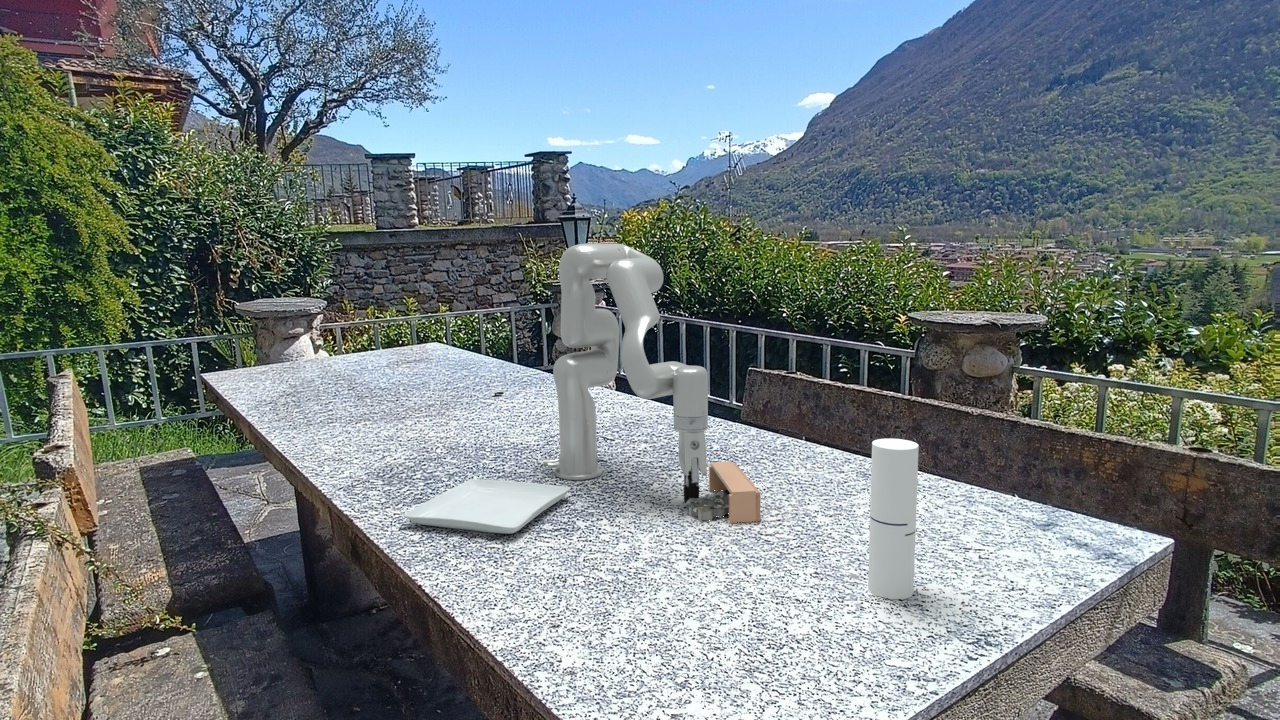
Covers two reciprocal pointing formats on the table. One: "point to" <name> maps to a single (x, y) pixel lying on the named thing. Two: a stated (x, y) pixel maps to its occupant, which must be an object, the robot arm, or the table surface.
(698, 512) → the egg carton
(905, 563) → the cylindrical container
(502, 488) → the square plate
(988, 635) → the table surface
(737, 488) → the shelf
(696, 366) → the robot arm
